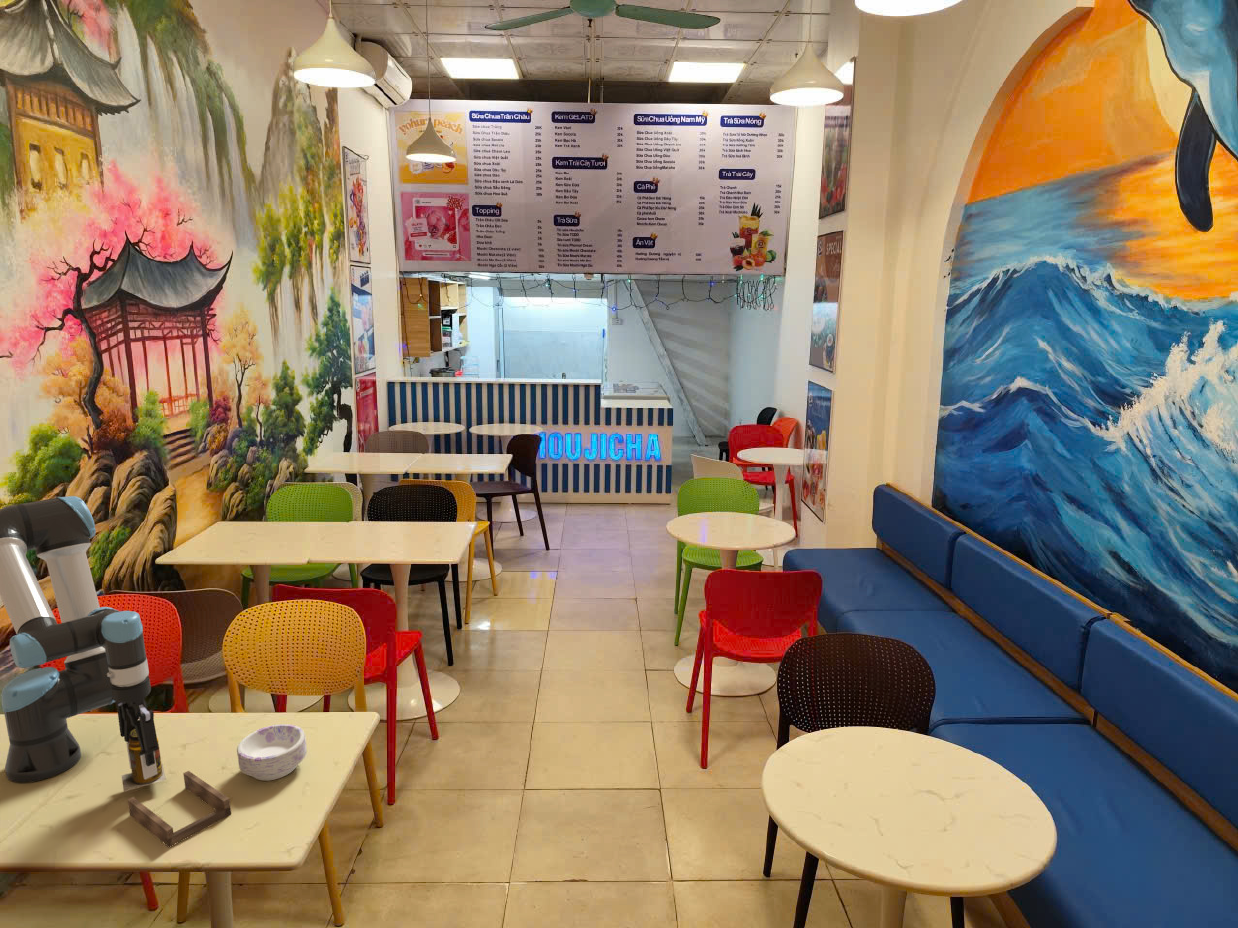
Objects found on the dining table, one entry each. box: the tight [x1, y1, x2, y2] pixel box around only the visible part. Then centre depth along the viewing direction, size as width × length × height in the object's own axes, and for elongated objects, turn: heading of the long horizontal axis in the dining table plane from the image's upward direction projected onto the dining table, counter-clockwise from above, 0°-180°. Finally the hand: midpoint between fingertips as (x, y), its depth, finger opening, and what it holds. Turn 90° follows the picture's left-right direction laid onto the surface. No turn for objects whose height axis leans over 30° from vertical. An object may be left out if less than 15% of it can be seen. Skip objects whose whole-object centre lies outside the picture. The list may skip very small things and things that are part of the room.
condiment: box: [121, 729, 167, 793], centre depth 189 cm, size 7×8×12 cm
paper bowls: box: [236, 723, 308, 782], centre depth 197 cm, size 15×15×8 cm
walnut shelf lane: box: [127, 770, 232, 848], centre depth 181 cm, size 18×13×4 cm
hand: (143, 770), depth 189 cm, fingers closed on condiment, 6 cm apart
